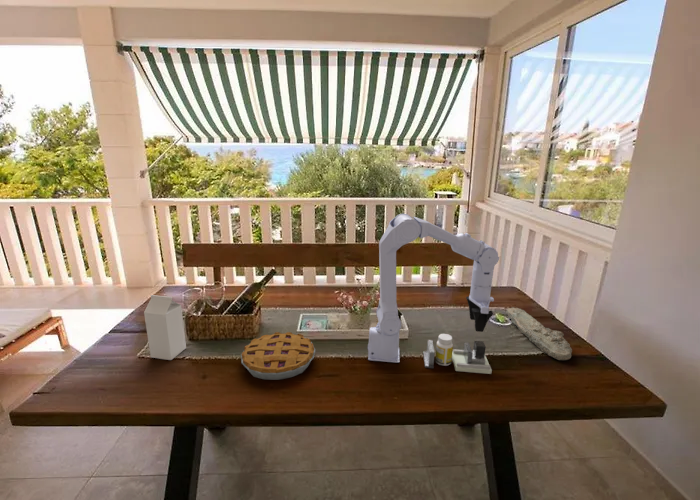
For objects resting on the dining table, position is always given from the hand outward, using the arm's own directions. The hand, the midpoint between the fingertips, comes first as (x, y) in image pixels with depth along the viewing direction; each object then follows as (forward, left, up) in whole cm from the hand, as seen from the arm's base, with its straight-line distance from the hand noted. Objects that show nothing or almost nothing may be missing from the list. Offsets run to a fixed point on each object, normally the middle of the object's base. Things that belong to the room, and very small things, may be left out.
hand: (476, 325), depth 109 cm
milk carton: (-94, -14, -10) cm, 96 cm away
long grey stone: (+24, +16, -11) cm, 31 cm away
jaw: (-14, -6, -10) cm, 18 cm away
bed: (-2, -6, -10) cm, 12 cm away
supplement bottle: (-10, -6, -10) cm, 15 cm away
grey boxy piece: (-1, -6, -9) cm, 10 cm away
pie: (-59, -13, -10) cm, 61 cm away
